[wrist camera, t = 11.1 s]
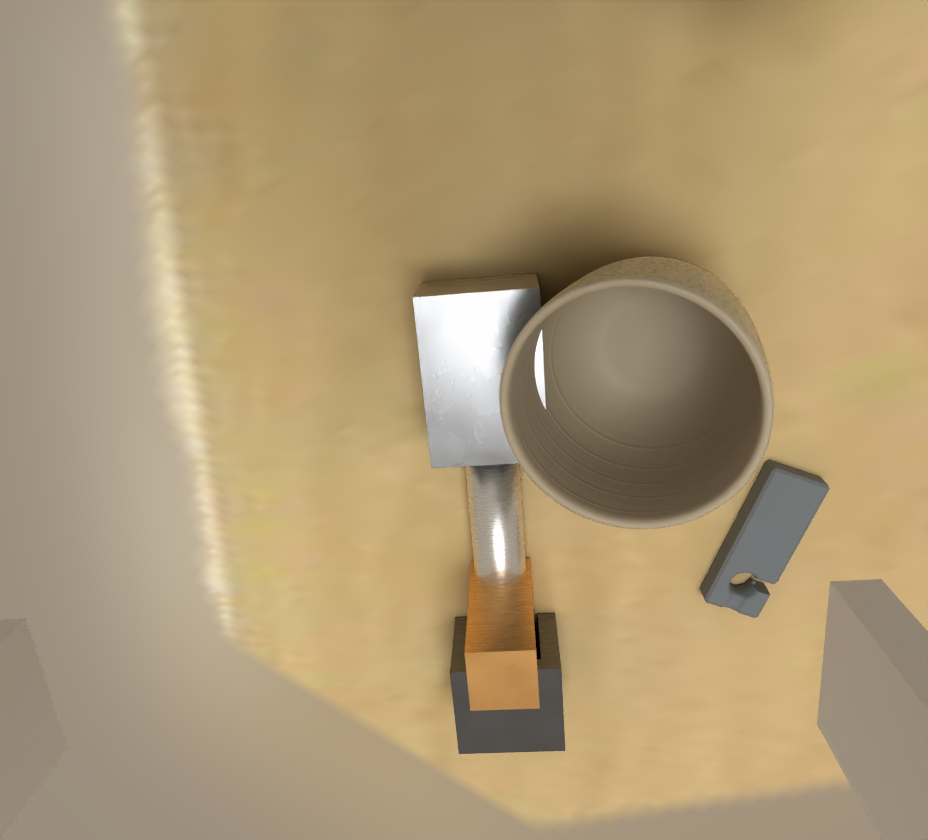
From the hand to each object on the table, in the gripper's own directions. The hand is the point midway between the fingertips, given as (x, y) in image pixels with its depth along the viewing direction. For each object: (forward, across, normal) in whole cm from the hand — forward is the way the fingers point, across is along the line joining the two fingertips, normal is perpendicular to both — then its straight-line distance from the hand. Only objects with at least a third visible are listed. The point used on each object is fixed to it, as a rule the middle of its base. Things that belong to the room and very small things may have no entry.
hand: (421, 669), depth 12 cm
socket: (+35, 0, -26) cm, 43 cm away
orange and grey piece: (+35, 0, -18) cm, 39 cm away
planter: (+33, +10, -3) cm, 35 cm away
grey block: (+35, 0, -4) cm, 35 cm away
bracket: (+35, +17, -18) cm, 43 cm away
